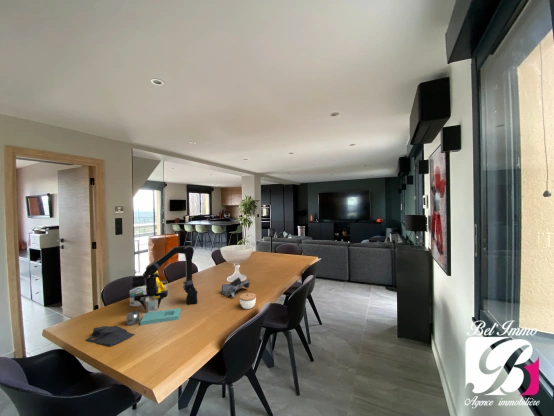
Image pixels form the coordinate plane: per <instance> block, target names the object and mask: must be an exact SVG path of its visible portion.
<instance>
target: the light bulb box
mask: <svg viewBox="0 0 554 416" xmlns="http://www.w3.org/2000/svg"><path fill="white" fill-rule="evenodd" d="M139 293H143V294H144V295H145V294H147V292H146V285H143V286H141V287H135V288H132V289H130V290H129V307H140V306H143V305H142V304H141V303H140V302H138V301H134V297H135V296H136V295H137V294H139ZM149 299H150V297H146V303H148V300H149Z"/></svg>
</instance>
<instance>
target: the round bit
mask: <svg viewBox="0 0 554 416" xmlns="http://www.w3.org/2000/svg"><path fill="white" fill-rule="evenodd" d="M125 316H126V317H125V318H126V319H125V321H126V326H127V327H131V326H136V325H137V324H139V323H140V322H141V319H140V311H139V310H132V311H130V312H128V313H126V315H125Z"/></svg>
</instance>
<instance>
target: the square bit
mask: <svg viewBox="0 0 554 416" xmlns="http://www.w3.org/2000/svg"><path fill="white" fill-rule="evenodd" d="M156 311H157V298H154V297H150V298H149V300H148V301H147V313H149V312H156Z"/></svg>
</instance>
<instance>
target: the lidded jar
mask: <svg viewBox="0 0 554 416" xmlns="http://www.w3.org/2000/svg"><path fill="white" fill-rule="evenodd" d="M256 302H257V294H255V293H253V292H246V293H244V292H243V293H242V294H240V295H239V303H240V306H241V307H242V309H244V310H250V309H253V308H254V307H255V305H256Z"/></svg>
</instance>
